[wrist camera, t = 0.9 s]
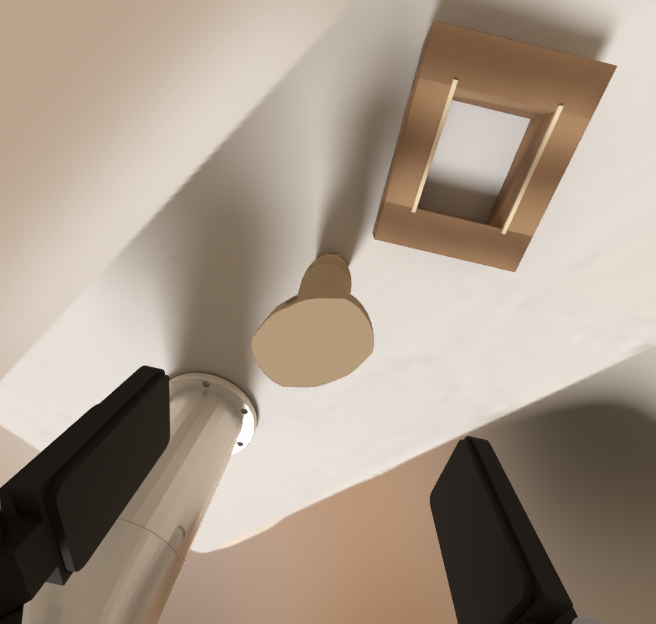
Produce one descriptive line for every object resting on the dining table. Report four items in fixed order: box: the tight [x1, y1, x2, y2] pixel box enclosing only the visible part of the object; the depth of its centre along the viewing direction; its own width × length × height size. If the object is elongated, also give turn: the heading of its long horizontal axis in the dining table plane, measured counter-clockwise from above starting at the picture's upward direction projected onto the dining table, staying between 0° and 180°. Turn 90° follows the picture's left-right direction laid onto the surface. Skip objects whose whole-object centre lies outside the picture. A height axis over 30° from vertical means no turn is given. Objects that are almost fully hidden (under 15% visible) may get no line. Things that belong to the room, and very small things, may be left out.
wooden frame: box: [373, 21, 617, 272], centre depth 23 cm, size 14×12×3 cm
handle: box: [251, 252, 374, 387], centre depth 22 cm, size 5×6×15 cm
